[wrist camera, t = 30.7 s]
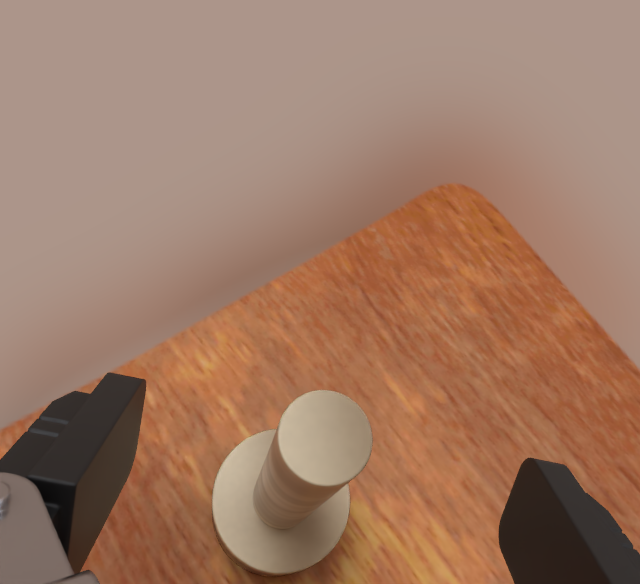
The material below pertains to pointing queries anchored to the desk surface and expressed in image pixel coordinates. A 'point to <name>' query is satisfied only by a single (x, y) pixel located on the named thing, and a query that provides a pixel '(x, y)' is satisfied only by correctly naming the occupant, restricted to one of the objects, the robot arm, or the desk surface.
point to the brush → (291, 485)
